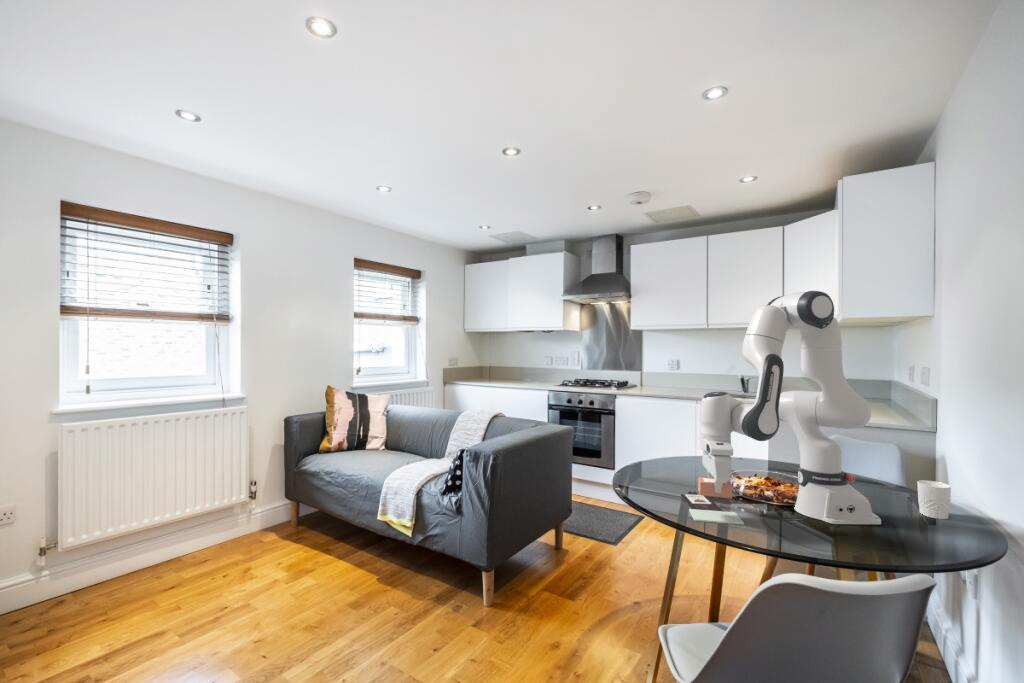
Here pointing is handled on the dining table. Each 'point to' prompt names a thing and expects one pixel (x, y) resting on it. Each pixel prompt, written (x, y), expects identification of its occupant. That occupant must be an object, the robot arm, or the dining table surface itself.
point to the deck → (708, 488)
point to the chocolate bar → (700, 502)
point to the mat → (716, 516)
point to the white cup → (934, 499)
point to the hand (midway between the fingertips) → (714, 488)
